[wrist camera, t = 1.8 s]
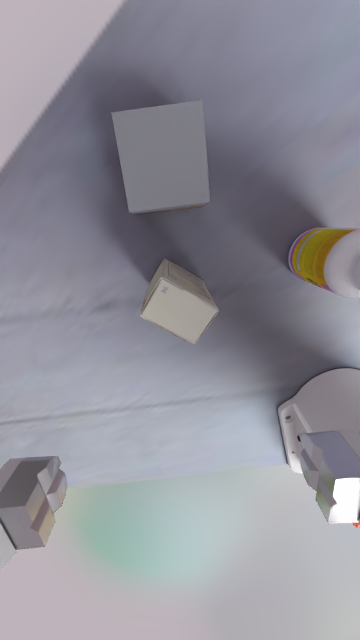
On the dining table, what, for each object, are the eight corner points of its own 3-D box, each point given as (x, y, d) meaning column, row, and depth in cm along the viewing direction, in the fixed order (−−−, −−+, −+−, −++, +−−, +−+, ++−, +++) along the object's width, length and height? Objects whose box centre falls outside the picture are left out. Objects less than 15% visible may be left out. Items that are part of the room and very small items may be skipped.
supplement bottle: (281, 277, 34) (339, 306, 22) (293, 225, 31) (366, 225, 19) (328, 281, 34) (412, 312, 22) (344, 230, 31) (448, 233, 19)
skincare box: (148, 284, 34) (134, 315, 22) (164, 256, 32) (157, 273, 21) (188, 307, 35) (195, 347, 23) (205, 281, 34) (220, 310, 22)
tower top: (206, 204, 27) (210, 201, 24) (134, 213, 28) (129, 212, 24) (199, 116, 25) (203, 99, 21) (119, 127, 25) (111, 112, 21)
